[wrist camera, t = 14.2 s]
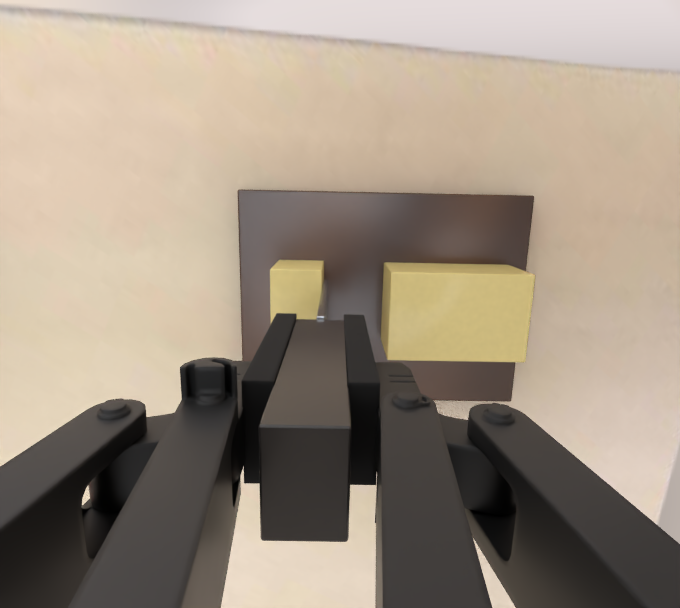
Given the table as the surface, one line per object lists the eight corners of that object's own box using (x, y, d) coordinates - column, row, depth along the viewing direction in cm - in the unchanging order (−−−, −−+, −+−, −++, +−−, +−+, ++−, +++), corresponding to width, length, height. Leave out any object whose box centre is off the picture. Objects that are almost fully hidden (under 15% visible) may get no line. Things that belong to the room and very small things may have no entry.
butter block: (509, 264, 25) (536, 274, 22) (501, 341, 26) (525, 362, 23) (383, 262, 25) (391, 272, 22) (380, 339, 26) (386, 360, 23)
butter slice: (323, 260, 25) (322, 269, 22) (322, 338, 26) (320, 359, 23) (278, 259, 25) (269, 269, 22) (279, 337, 26) (270, 358, 23)
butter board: (527, 196, 25) (534, 195, 24) (505, 394, 28) (511, 401, 27) (241, 190, 25) (237, 189, 24) (246, 390, 28) (243, 397, 27)
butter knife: (342, 279, 24) (351, 422, 9) (341, 329, 25) (348, 547, 9) (309, 278, 24) (257, 421, 9) (308, 328, 25) (260, 545, 9)
